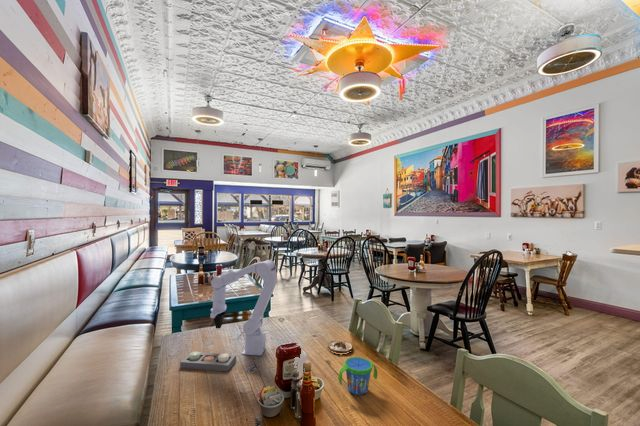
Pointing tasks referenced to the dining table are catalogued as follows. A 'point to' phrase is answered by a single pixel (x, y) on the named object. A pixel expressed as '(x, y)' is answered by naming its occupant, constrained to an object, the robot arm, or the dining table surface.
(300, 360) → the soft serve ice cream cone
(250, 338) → the robot arm
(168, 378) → the dining table surface
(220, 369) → the button board
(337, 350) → the brown white round dish
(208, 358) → the terracotta button
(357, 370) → the snack cup
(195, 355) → the sage button
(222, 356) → the cream button
